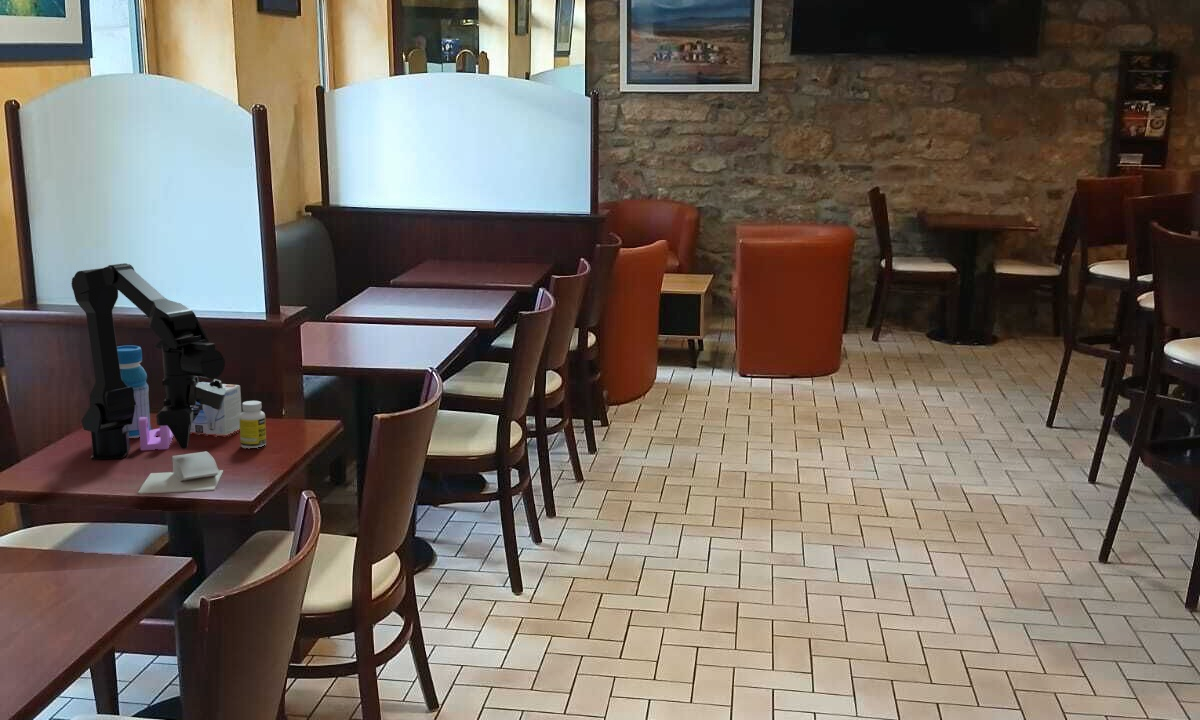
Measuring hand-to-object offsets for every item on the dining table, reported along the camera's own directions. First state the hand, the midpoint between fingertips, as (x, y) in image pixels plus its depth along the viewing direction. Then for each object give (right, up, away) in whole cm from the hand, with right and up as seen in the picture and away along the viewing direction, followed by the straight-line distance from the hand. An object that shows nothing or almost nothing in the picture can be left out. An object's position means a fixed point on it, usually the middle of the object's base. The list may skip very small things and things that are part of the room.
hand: (184, 448), depth 230 cm
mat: (+1, -6, -4) cm, 7 cm away
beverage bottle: (-22, +1, +29) cm, 37 cm away
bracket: (-14, -1, +24) cm, 28 cm away
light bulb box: (-5, +1, +32) cm, 33 cm away
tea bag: (0, -3, +2) cm, 4 cm away
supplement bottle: (+8, -1, +21) cm, 23 cm away
